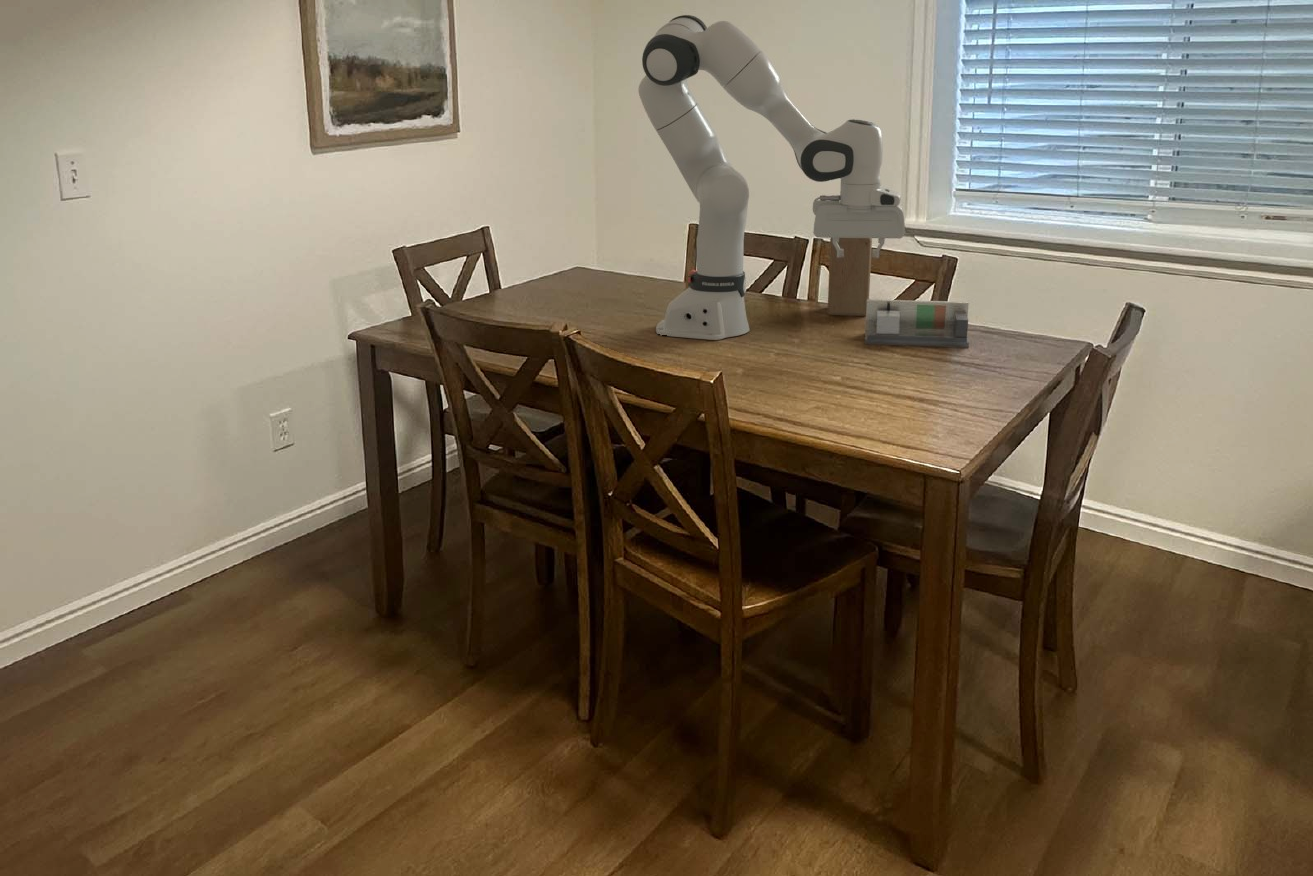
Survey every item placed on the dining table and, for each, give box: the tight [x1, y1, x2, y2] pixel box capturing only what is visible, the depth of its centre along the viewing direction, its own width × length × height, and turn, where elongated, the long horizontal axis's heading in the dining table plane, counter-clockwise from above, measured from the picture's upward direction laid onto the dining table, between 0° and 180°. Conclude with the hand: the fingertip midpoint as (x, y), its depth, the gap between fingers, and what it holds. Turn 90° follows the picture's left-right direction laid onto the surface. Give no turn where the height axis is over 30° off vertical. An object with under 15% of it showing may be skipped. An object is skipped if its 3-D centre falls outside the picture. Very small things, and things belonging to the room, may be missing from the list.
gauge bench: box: [864, 298, 970, 349], centre depth 258 cm, size 23×10×8 cm, turn 79°
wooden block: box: [827, 238, 873, 317], centre depth 282 cm, size 10×10×20 cm
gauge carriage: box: [876, 303, 900, 335], centre depth 258 cm, size 5×7×6 cm
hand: (857, 257), depth 254 cm, fingers open, 6 cm apart
